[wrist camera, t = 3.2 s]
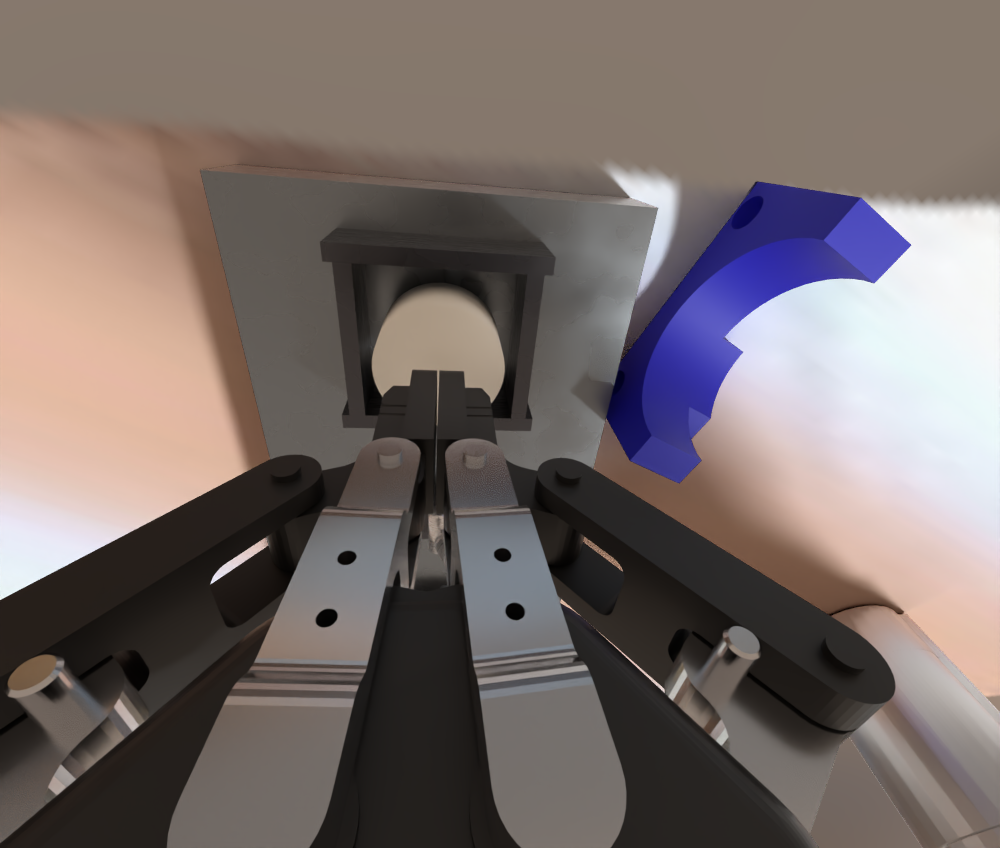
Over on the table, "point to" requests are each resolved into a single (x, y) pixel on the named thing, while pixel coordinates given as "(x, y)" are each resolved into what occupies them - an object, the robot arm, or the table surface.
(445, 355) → the button
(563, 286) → the panel
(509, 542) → the robot arm
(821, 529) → the table surface
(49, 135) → the table surface
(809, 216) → the cable clip
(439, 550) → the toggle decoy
